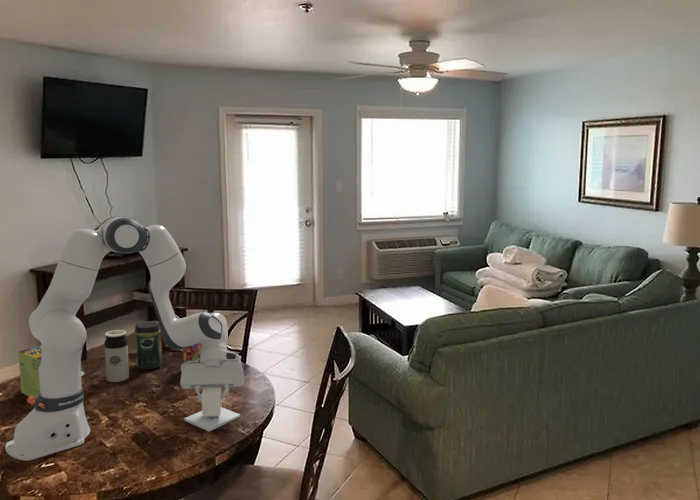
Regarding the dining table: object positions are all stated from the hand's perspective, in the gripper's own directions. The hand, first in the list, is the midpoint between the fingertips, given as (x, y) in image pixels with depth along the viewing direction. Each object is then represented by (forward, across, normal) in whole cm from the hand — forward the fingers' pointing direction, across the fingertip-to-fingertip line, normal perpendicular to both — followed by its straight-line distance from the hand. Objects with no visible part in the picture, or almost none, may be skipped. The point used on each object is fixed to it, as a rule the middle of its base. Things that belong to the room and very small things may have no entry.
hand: (211, 399), depth 186 cm
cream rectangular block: (+3, 0, +4) cm, 5 cm away
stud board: (+4, 0, +5) cm, 7 cm away
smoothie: (-28, -11, +37) cm, 48 cm away
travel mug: (-22, -38, +32) cm, 55 cm away
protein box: (-14, -59, +24) cm, 66 cm away
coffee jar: (-31, -29, +41) cm, 59 cm away
